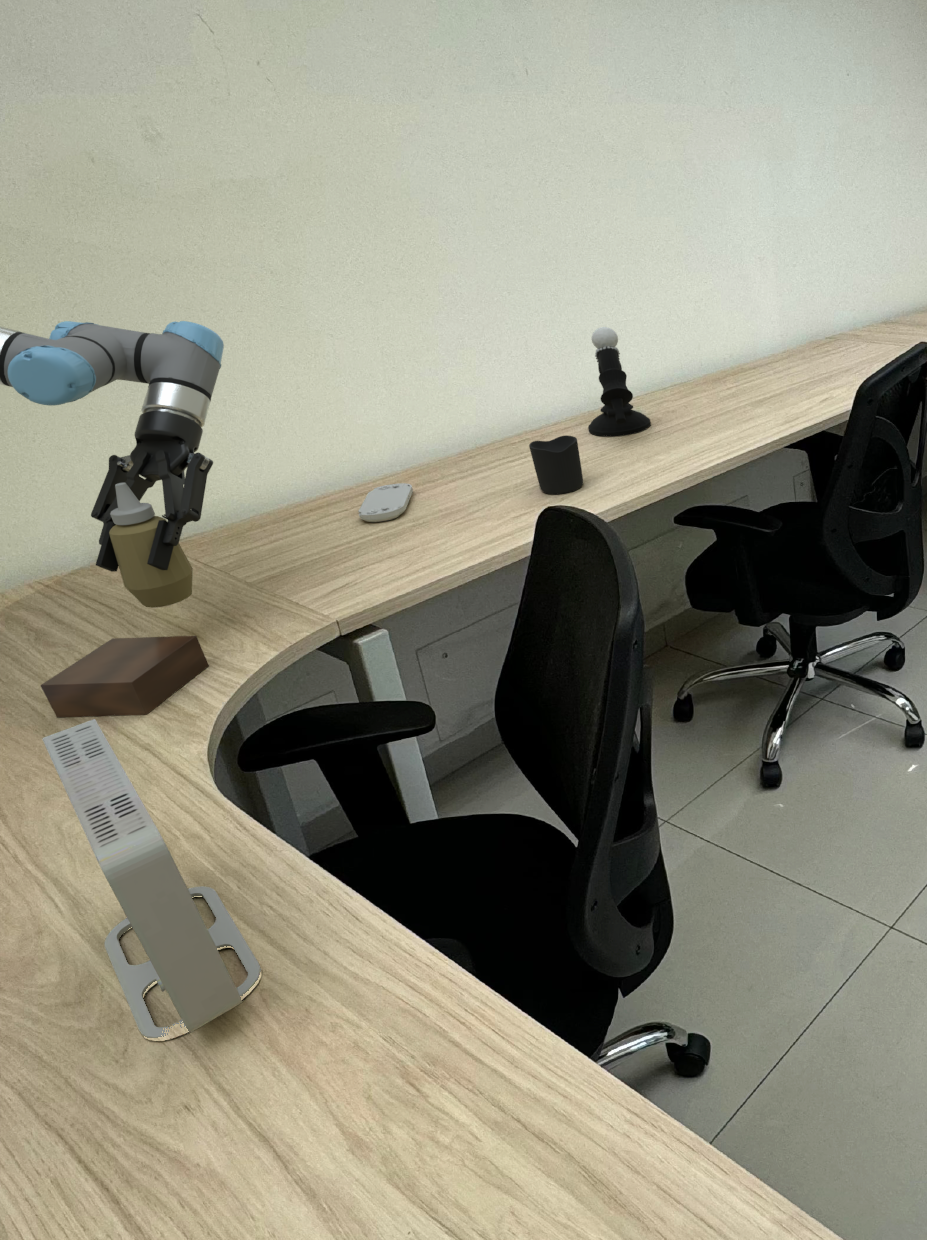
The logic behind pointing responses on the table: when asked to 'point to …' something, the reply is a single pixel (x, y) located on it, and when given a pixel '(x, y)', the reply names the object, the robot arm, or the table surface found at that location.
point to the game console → (385, 502)
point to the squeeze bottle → (146, 554)
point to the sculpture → (614, 391)
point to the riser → (125, 676)
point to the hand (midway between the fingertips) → (131, 567)
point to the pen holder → (557, 464)
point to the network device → (148, 890)
